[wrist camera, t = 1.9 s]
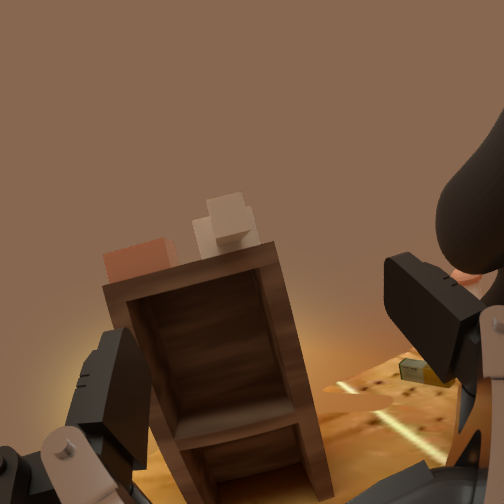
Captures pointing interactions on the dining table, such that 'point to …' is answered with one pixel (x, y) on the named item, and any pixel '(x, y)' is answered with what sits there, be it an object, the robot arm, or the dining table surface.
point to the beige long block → (226, 227)
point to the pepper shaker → (468, 282)
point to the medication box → (420, 373)
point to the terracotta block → (140, 260)
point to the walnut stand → (223, 370)
